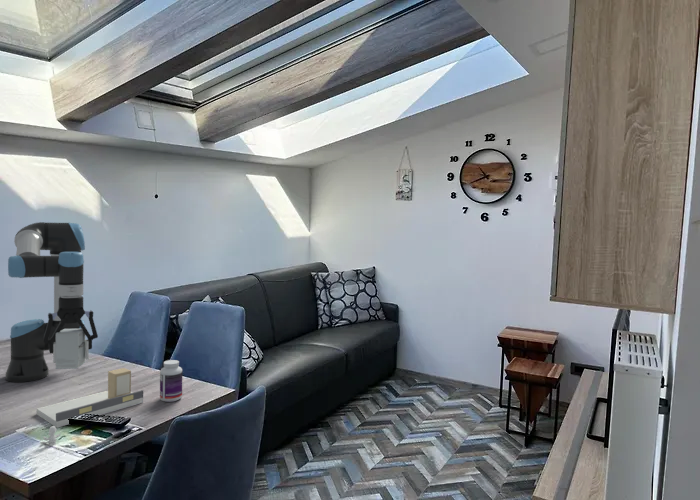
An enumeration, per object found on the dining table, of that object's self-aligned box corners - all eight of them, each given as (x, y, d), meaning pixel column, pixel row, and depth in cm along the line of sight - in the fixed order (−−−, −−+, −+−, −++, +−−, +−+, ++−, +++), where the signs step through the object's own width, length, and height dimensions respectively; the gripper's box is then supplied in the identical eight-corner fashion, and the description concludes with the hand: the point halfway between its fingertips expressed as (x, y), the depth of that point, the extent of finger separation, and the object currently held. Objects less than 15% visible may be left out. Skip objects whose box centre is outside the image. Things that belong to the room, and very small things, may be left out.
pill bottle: (186, 397, 193) (187, 360, 192) (172, 404, 185) (173, 366, 184) (169, 393, 195) (169, 357, 194) (154, 400, 188) (155, 363, 187)
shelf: (36, 414, 171) (36, 401, 171) (121, 392, 195) (121, 380, 195) (57, 427, 162) (57, 414, 161) (143, 402, 185) (143, 390, 185)
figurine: (30, 448, 149) (30, 428, 148) (53, 437, 156) (53, 418, 155) (49, 453, 146) (49, 433, 145) (72, 443, 153) (72, 423, 152)
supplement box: (78, 369, 170) (78, 332, 170) (54, 369, 169) (54, 332, 169) (86, 362, 178) (86, 328, 177) (64, 363, 177) (63, 328, 176)
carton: (107, 397, 183) (108, 371, 183) (123, 393, 188) (124, 367, 187) (115, 401, 180) (115, 374, 180) (130, 397, 185) (131, 370, 184)
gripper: (33, 299, 163) (34, 367, 164) (107, 296, 175) (107, 359, 176) (33, 296, 169) (33, 361, 171) (104, 293, 181) (104, 354, 183)
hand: (70, 360), depth 173 cm, fingers closed on supplement box, 9 cm apart
